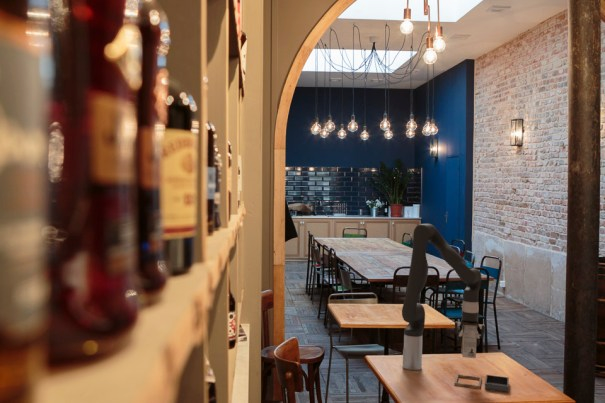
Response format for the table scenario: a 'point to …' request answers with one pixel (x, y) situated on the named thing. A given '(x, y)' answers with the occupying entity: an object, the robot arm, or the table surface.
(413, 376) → the table surface
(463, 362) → the table surface
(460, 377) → the tray frame
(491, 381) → the box
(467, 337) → the coffee box
